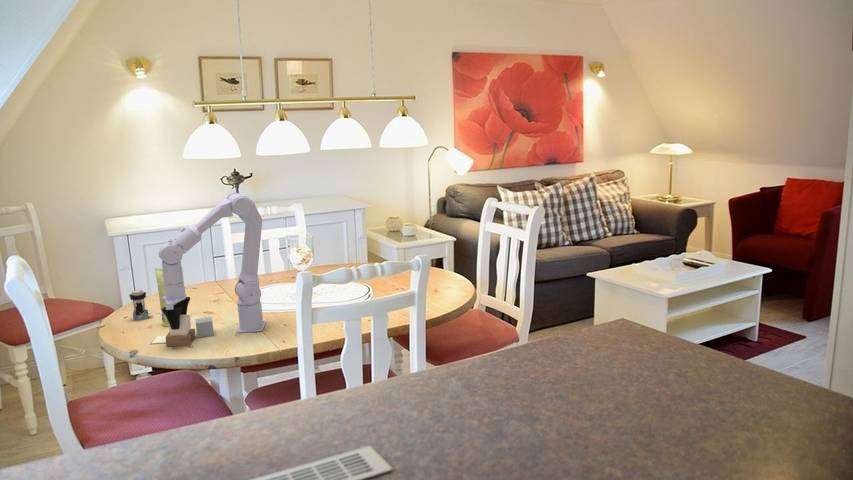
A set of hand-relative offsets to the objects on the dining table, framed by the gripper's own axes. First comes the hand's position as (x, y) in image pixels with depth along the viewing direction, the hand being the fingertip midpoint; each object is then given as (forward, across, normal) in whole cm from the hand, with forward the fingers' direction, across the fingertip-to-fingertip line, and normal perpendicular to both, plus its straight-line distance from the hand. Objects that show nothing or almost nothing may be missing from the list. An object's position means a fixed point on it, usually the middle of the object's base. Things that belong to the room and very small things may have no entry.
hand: (179, 325), depth 205 cm
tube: (+6, -18, -8) cm, 21 cm away
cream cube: (+2, 0, 0) cm, 3 cm away
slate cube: (+6, -6, +6) cm, 10 cm away
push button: (+6, -27, -20) cm, 34 cm away
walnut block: (+6, 0, 0) cm, 6 cm away
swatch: (+6, -3, -6) cm, 9 cm away
